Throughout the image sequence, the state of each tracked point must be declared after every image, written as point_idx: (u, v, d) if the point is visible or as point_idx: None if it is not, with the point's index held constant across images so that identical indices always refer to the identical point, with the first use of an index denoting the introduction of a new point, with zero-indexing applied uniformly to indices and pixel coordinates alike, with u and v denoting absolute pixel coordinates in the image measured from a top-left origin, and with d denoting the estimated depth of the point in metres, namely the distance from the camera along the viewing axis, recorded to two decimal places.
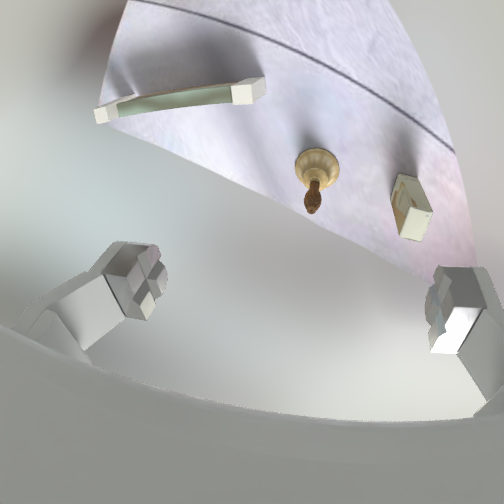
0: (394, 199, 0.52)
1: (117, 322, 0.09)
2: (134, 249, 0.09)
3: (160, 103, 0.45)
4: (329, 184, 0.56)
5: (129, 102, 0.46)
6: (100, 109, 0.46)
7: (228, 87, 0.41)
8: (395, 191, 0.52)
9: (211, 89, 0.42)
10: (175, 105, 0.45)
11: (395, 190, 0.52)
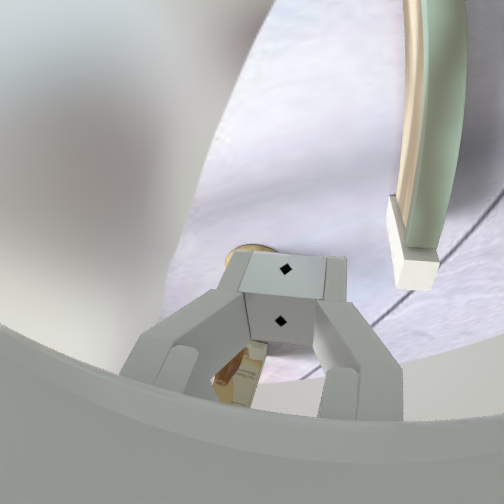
0: None
1: (243, 347, 0.08)
2: (271, 260, 0.08)
3: (444, 86, 0.14)
4: None
5: None
6: None
7: (435, 246, 0.21)
8: (246, 347, 0.48)
9: (443, 216, 0.19)
10: (431, 124, 0.15)
11: (248, 348, 0.47)
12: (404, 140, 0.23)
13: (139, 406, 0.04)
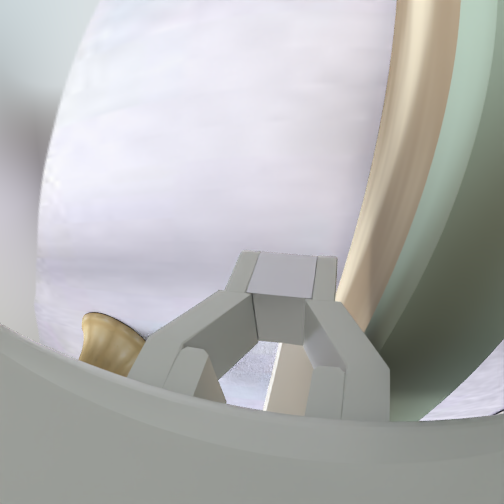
0: None
1: (250, 348, 0.08)
2: (278, 261, 0.08)
3: (496, 253, 0.03)
4: None
5: None
6: None
7: None
8: None
9: None
10: (398, 353, 0.05)
11: None
12: (351, 256, 0.13)
13: (139, 406, 0.04)
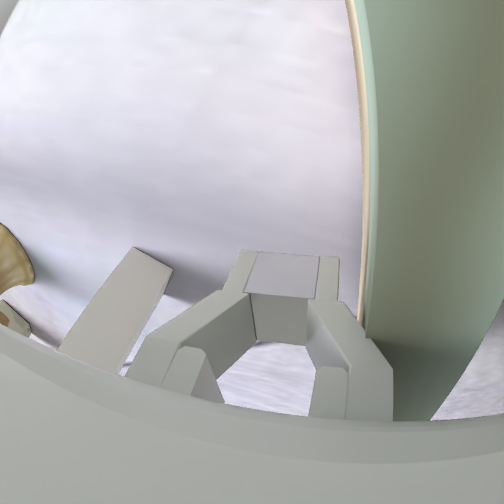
0: None
1: (248, 347, 0.08)
2: (277, 260, 0.08)
3: (451, 211, 0.04)
4: None
5: None
6: None
7: None
8: (8, 319, 0.33)
9: None
10: (385, 335, 0.05)
11: (9, 320, 0.33)
12: (363, 249, 0.13)
13: (139, 406, 0.04)
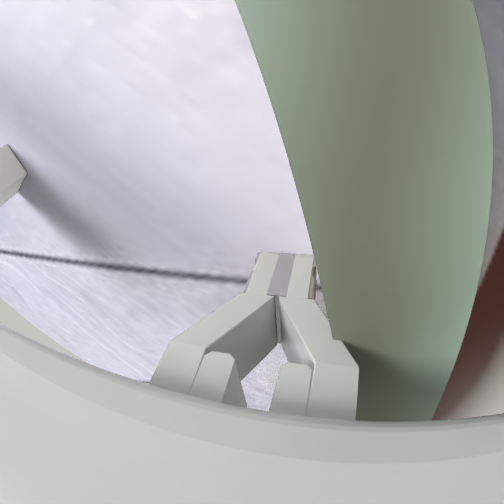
0: None
1: (269, 350, 0.08)
2: (299, 262, 0.07)
3: (385, 204, 0.04)
4: None
5: None
6: None
7: None
8: None
9: None
10: (353, 336, 0.05)
11: None
12: None
13: (139, 406, 0.04)
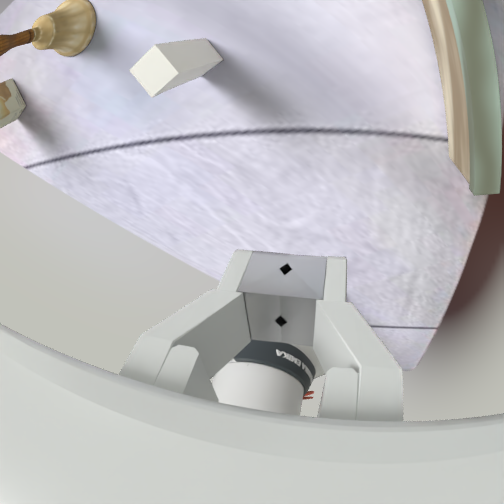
0: (2, 91, 0.29)
1: (243, 347, 0.08)
2: (271, 260, 0.08)
3: (475, 43, 0.13)
4: None
5: None
6: None
7: (498, 190, 0.19)
8: (10, 94, 0.30)
9: (499, 160, 0.17)
10: (473, 78, 0.14)
11: (11, 96, 0.30)
12: (447, 102, 0.22)
13: (139, 406, 0.04)
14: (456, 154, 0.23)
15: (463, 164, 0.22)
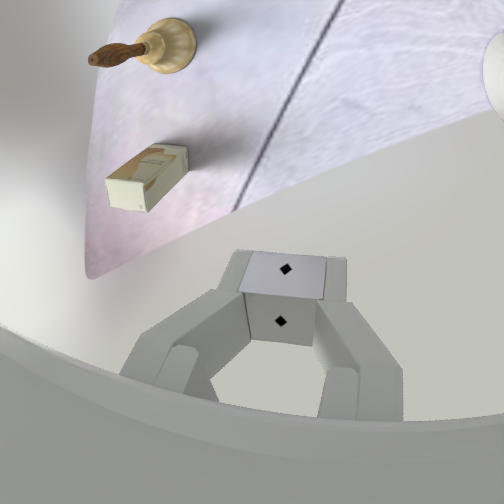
0: (152, 151, 0.41)
1: (243, 347, 0.08)
2: (271, 260, 0.08)
3: None
4: (150, 65, 0.35)
5: None
6: None
7: None
8: (163, 148, 0.42)
9: None
10: None
11: (165, 149, 0.42)
12: None
13: (139, 406, 0.04)
14: None
15: None
